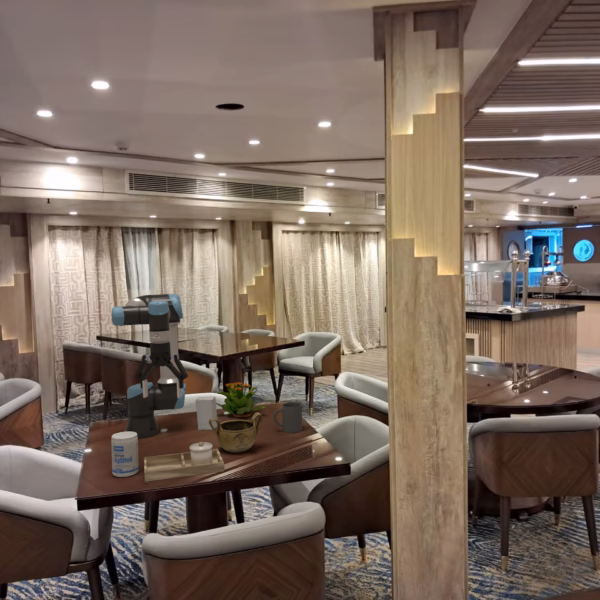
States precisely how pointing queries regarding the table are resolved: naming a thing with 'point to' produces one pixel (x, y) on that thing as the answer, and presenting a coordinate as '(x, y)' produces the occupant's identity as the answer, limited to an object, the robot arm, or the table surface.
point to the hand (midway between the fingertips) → (162, 397)
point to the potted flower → (239, 400)
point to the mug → (290, 417)
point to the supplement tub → (124, 454)
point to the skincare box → (206, 412)
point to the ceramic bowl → (237, 433)
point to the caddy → (179, 466)
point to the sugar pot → (201, 453)
